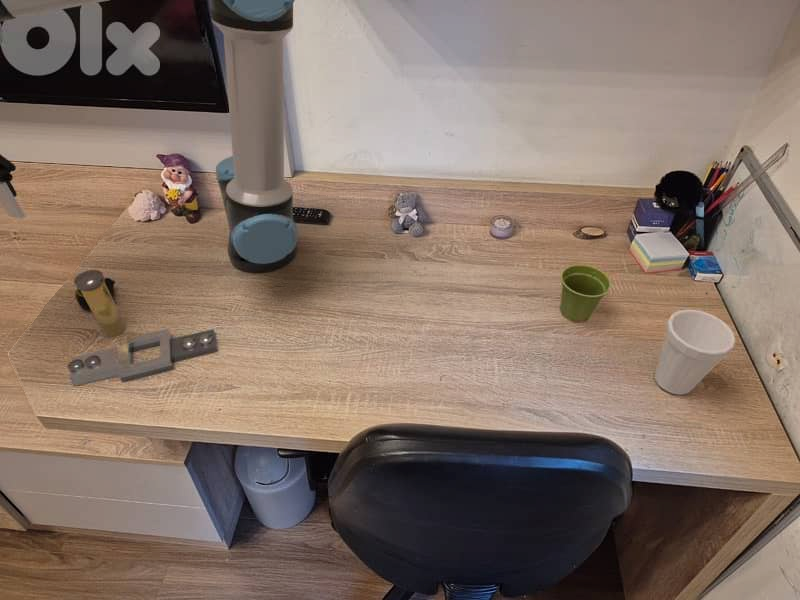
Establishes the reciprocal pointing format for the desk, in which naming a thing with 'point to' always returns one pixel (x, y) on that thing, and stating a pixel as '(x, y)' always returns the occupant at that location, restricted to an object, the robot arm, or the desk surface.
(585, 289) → the plant pot
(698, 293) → the desk surface
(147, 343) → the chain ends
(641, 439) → the desk surface
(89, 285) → the link pin
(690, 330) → the cup
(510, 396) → the desk surface
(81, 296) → the tape measure
